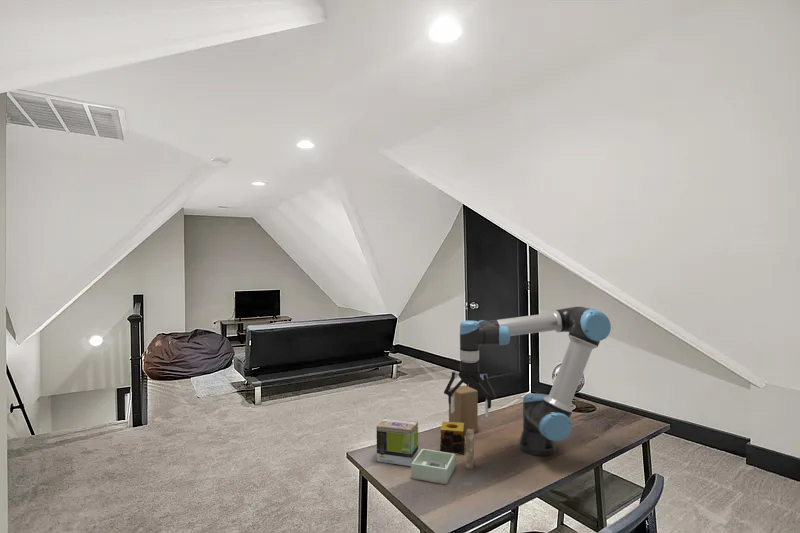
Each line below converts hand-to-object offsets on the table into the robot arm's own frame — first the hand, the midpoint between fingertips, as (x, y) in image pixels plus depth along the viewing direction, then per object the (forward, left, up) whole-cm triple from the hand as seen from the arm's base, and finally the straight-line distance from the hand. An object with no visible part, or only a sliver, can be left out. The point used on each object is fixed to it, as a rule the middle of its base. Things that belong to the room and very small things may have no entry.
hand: (469, 414), depth 170 cm
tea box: (+29, +4, -21) cm, 36 cm away
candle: (+10, -13, -21) cm, 26 cm away
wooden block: (+10, -34, -21) cm, 41 cm away
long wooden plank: (0, 0, -21) cm, 21 cm away
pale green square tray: (+12, +10, -20) cm, 26 cm away
